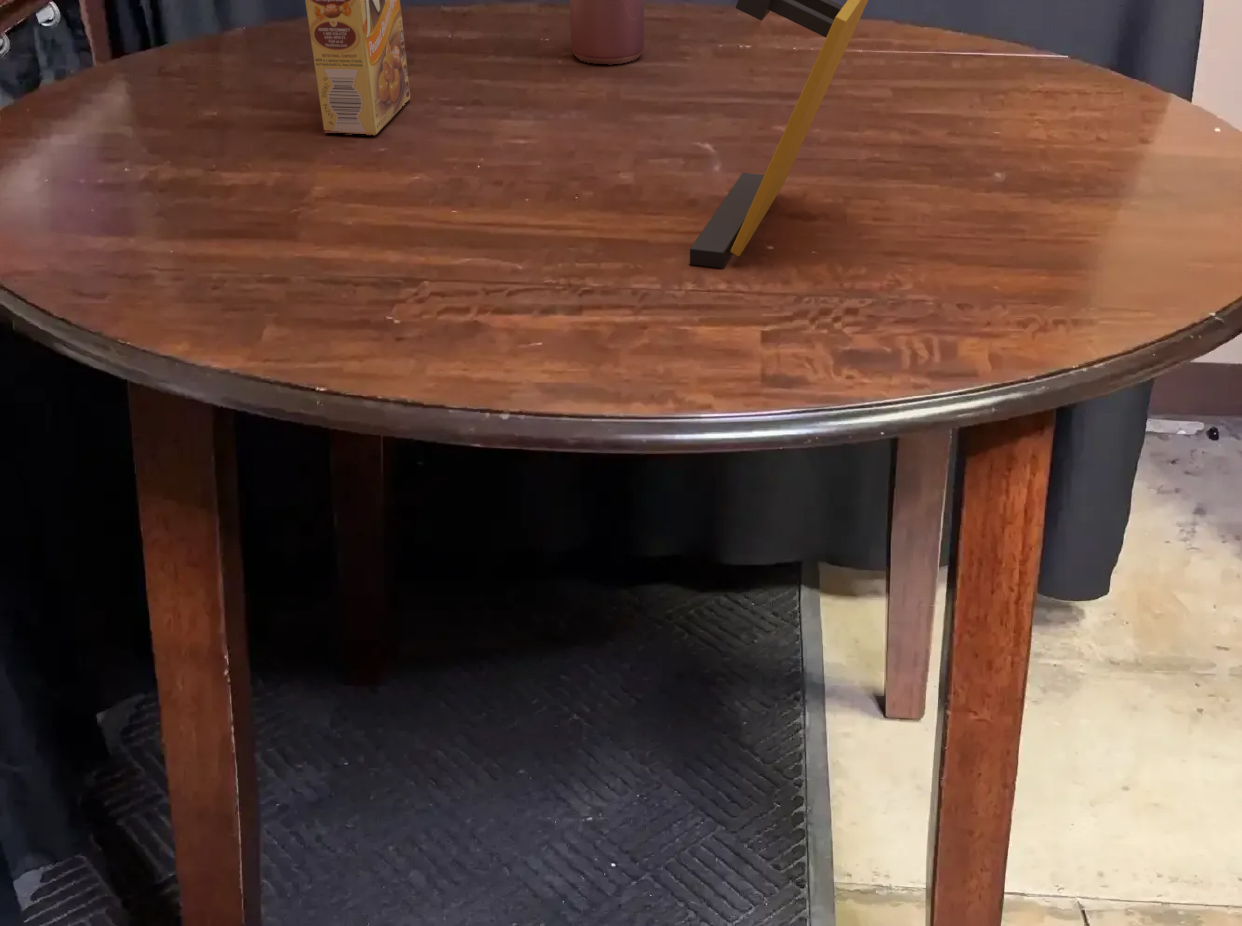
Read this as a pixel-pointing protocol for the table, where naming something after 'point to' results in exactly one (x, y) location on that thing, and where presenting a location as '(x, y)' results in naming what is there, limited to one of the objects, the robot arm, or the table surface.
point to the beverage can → (607, 30)
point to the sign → (816, 12)
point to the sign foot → (725, 224)
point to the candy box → (358, 62)
